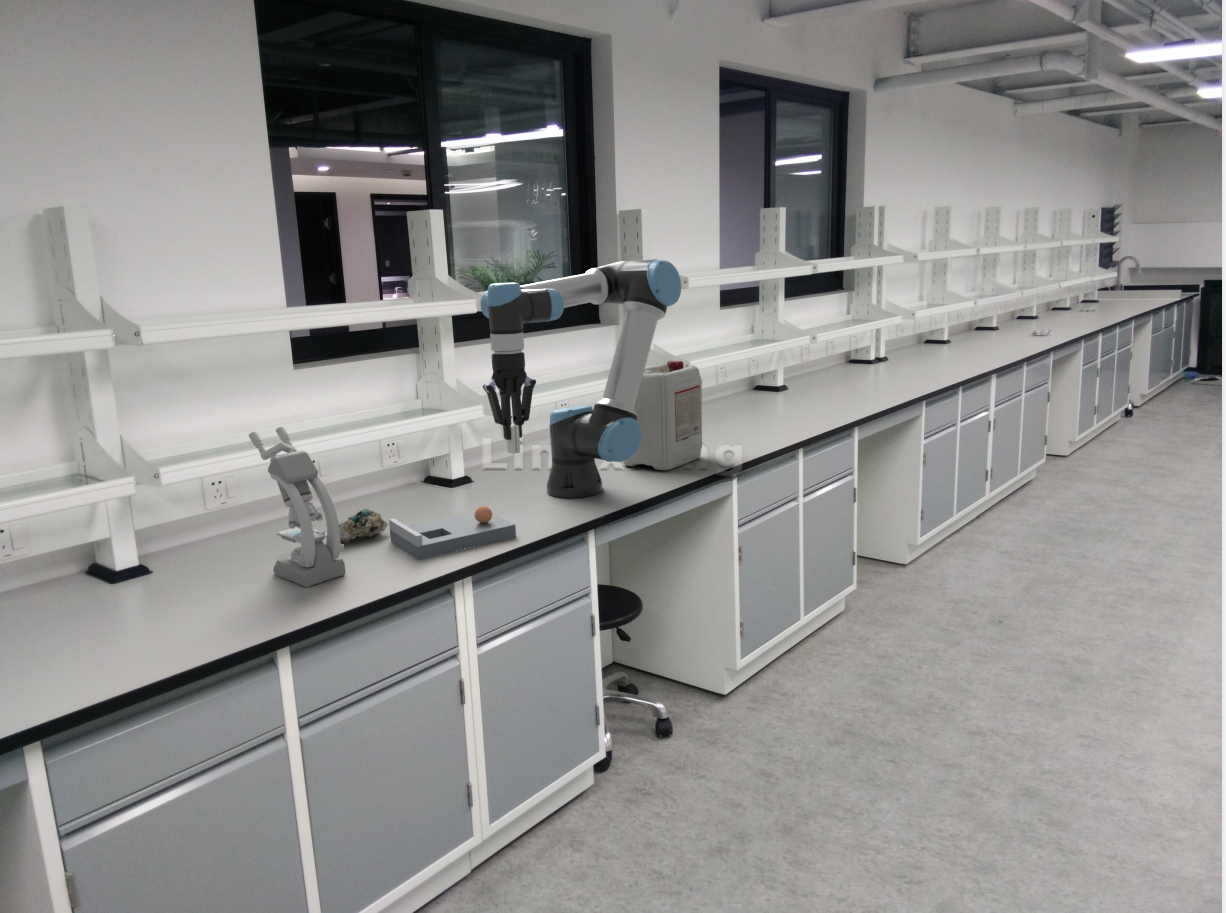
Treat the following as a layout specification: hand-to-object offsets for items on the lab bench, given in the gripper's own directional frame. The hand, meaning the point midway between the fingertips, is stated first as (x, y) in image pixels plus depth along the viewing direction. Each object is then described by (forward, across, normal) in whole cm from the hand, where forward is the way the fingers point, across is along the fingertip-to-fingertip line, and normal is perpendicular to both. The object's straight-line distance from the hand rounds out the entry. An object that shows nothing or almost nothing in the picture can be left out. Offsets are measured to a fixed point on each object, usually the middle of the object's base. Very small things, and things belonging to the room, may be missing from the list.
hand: (514, 452), depth 210 cm
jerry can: (+19, -66, -29) cm, 74 cm away
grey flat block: (+18, +16, -2) cm, 24 cm away
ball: (+13, +9, 0) cm, 16 cm away
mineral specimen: (+19, +33, -17) cm, 41 cm away
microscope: (+19, +50, -2) cm, 53 cm away
